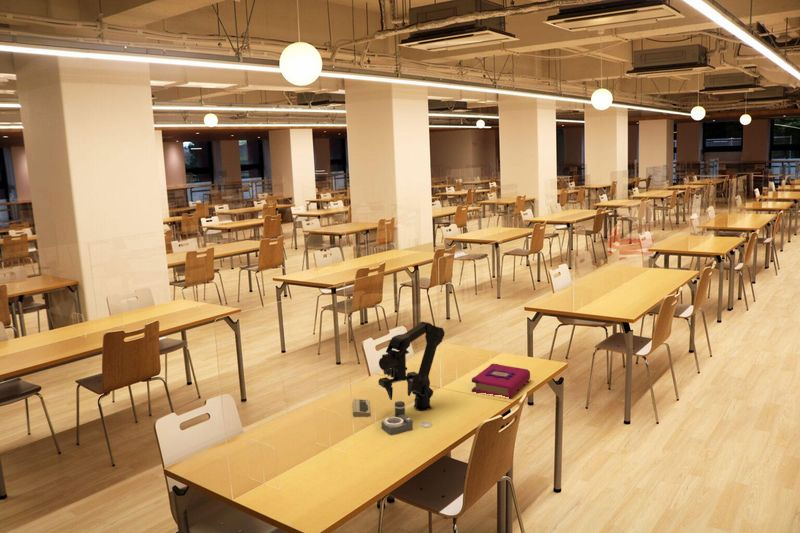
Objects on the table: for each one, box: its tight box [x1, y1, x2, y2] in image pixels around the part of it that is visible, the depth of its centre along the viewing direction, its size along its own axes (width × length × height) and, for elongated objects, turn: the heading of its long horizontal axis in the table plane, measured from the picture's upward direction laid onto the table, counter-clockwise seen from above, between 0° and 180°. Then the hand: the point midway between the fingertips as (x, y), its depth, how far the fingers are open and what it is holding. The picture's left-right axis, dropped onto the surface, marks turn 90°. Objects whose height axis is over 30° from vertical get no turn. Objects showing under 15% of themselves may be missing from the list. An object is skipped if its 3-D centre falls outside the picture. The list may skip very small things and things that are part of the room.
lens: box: [394, 400, 406, 417], centre depth 308 cm, size 5×5×7 cm
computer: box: [352, 398, 371, 418], centre depth 318 cm, size 16×8×3 cm, turn 4°
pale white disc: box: [420, 421, 433, 429], centre depth 301 cm, size 5×5×1 cm
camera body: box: [381, 414, 414, 436], centre depth 297 cm, size 11×8×5 cm
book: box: [471, 363, 531, 398], centre depth 346 cm, size 21×28×8 cm
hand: (399, 397), depth 307 cm, fingers open, 9 cm apart
